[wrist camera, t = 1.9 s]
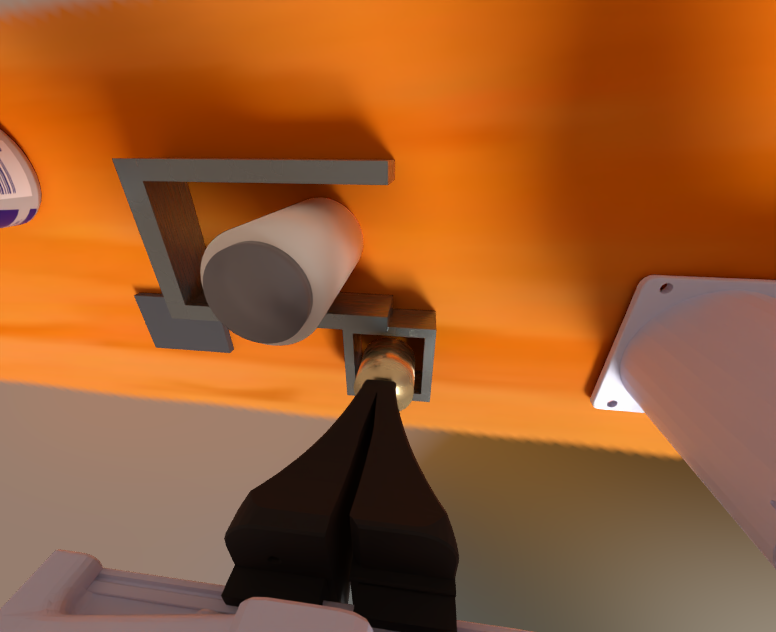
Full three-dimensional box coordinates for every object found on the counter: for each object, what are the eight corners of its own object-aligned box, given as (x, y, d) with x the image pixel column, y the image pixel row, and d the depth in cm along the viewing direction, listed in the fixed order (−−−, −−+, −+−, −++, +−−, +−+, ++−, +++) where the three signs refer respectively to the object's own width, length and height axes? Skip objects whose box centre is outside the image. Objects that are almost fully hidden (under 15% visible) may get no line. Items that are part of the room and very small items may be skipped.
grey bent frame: (448, 159, 13) (452, 161, 11) (429, 378, 19) (429, 408, 16) (160, 157, 14) (112, 158, 12) (223, 362, 20) (197, 388, 18)
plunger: (416, 339, 16) (414, 369, 13) (414, 381, 17) (412, 416, 15) (362, 335, 16) (352, 364, 14) (364, 377, 17) (355, 410, 15)
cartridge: (362, 198, 14) (313, 233, 8) (364, 279, 16) (326, 358, 10) (278, 196, 14) (170, 228, 8) (290, 276, 16) (209, 349, 10)
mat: (219, 297, 18) (214, 300, 17) (234, 349, 19) (230, 352, 19) (139, 292, 18) (134, 295, 18) (160, 344, 20) (156, 347, 19)
